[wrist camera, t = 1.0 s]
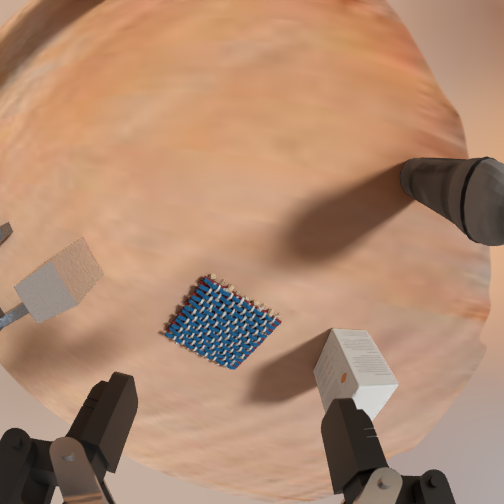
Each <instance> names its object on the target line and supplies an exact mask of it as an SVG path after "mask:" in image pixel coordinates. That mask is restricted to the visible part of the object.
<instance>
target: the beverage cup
mask: <svg viewBox="0 0 504 504" xmlns="http://www.w3.org/2000/svg"><path fill="white" fill-rule="evenodd" d="M400 181H401V186H402V188H403V190H404V191H405V192H406V193H407V194H408V195H410V196H411V197H413V198H414V199H415V200H417V201H418V202H420V203H422V204H424V205H425V206H427V207H429V208H430V209H432V210H433V211H435V212H437V213H438V214H440V215H441V216H443V217H445V218H446V219H448V220H449V221H451V222H452V223H454V224H455V225H456V226H457V227H458V228H459V229H460V230H461V231H462V232H463V233H464V234H466V235H467V236H468V238H469V239H470V240H472V241H474V242H475V243H481V244H484V245H487V246H499V245H504V164H503V163H501V162H498V161H497V160H495V159H494V158H490V157H483V158H472V159H468V160H466V159H449V158H413V159H409V160H408V161H407V162H406V163H405V164H404V166H403V167H402V170H401V173H400Z"/></svg>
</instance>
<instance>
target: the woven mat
mask: <svg viewBox="0 0 504 504" xmlns="http://www.w3.org/2000/svg"><path fill="white" fill-rule="evenodd" d="M203 279H204V280H203V281H204V282H203V281H202V280H201V281H200V282H199V283H200V284H201V285H200V286H197V288H196V292H197V293H196V292H193V293H192V295H193V296H192V297H190V298H189V299H188V301H186V302H185V304H186V306H185V307H184V306H183V307H182V309H181V311H179V313H178V314H180V315H178V316H176V317H175V320H173V321H172V323H173V324H172V325H171V324H170V325H169V328H168V327H167V328H166V331H170V332H169V333H167V332H166V334H165V335H166V336H167V337H170V338H173V339H172V340H173V341H174V340H175V341H176V344H177V343H180V344H181V345H184V346H185V345H186V346H187V347H188V348H187V350H189V349H193V350H192V351H197V353H196V354H197V355H198V353H199V354H201V355H203V357H206V356H207V360H209V359H212V360H211V361H215V360H216V361H217V362H218V364H217V365H219V364H220V365H221V364H224V365H222V366H223V367H224V366H227V367H226V369H228V368H229V369H236V368H237V367H238V366H239V365H240V364H241V363H242V362H243V361H244V360H245V359H246V358H247V357H248V356H249V355H250V354H251V353H252V352H253V351H254V350H255V349H256V348H257V347H258V346H259V345H260V344H261V343H262V342H263V341H264V340H265V339H264V338H266V337H267V335H270V334H271V333H272V332H273V330H274V329H275V328H276V327H277V326H278V325H279V324H280V323H281V321H280V320H279V319H278V318H279V316H280V315H281V314H280V313H278V314H277V315H275V316H273V314H274V312H275V311H274V310H273V309H269V310H268V311H267V310H263V309H264V308H265V306H266V305H265V304H262V305H261V306H260V307H257V305H259V304H258V300H253V301H252V302H251V303H250V302H249V301H248V300H249V297H247V296H244V297H240V296H239V295H240V294H241V293H240V292H239V291H236V292H234V291H233V289H234V286H233V285H228V287H226V286H223V284H224V282H225V280H224V279H222V281H221V282H220V283H217V282H215V281H214V280H215V279H216V274H211V275H209V277H207V276H205V277H204V278H203ZM224 290H225V291H224ZM227 296H228V297H227ZM230 312H231V313H230ZM201 319H202V320H201ZM174 334H175V335H174ZM180 339H181V340H180ZM246 344H247V345H246ZM191 345H192V346H191ZM243 359H244V360H243Z"/></svg>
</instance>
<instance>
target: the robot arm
mask: <svg viewBox="0 0 504 504" xmlns="http://www.w3.org/2000/svg"><path fill="white" fill-rule="evenodd" d="M137 408H138V398H137V393H136V387H135V382H134V378H133V376H131V375H127V374H123V373H119V372H114V373H113V374H112V376H111V378H110V380H109V382H105V381H100V382H99V383H98V384H96V385H95V386H94V387H92V389H91V391H90V393H89V395H88V396H87V399H86V400H85V402H84V404H83V406H82V407H81V409H80V411H79V413H78V415H77V417H76V418H75V420H74V422H73V424H72V426H71V428H70V430H69V432H68V433H67V435H66V436H65V437H61V438H58V439H56V440H55V441H44V440H38V439H33V438H30V437H29V435H28V434H27V433H26V432H25V431H24V430H22V429H19V428H11V429H9V430H7V431H6V432H5V433H4V435H3V436H2V438H1V440H0V504H50V503H51V499H52V496H53V493H54V490H55V487H56V486H59V487H60V491H61V493H62V496H63V500H64V502H63V504H116V503H115V501H114V499H113V497H112V495H111V493H110V491H109V489H108V487H107V484H106V482H105V480H104V476H105V474H106V471H109V472H112V473H115V471H116V468H117V465H118V462H119V460H120V457H121V454H122V451H123V448H124V445H125V442H126V439H127V437H128V434H129V431H130V428H131V426H132V423H133V420H134V418H135V415H136V412H137ZM321 433H322V438H323V443H324V447H325V452H326V457H327V461H328V466H329V471H330V476H331V481H332V486H333V491H334V495H335V494H341V493H343V494H344V499H343V501H342V502H341V504H456V503H455V500H454V497H453V495H452V492H451V489H450V486H449V483H448V481H447V478H446V476H445V475H444V474H443V473H442V472H441V471H439V470H429V471H427V472H425V473H424V474H423V475H422V476H403V475H400V474H399V473H398V472H397V471H396V470H394V469H392V468H389V466H388V464H387V462H386V459H385V456H384V453H383V451H382V448H381V445H380V442H379V440H378V437H376V436H377V434H376V432H375V429H374V426H373V424H372V421H371V419H370V417H369V416H368V415H367V414H366V412H365V411H364V410H363V409H357V407H356V405H355V402H354V400H353V399H352V398H335V399H333V400H332V402H331V404H330V406H329V408H328V410H327V412H326V414H325V416H324V418H323V420H322V424H321Z"/></svg>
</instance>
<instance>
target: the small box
mask: <svg viewBox="0 0 504 504" xmlns="http://www.w3.org/2000/svg"><path fill="white" fill-rule="evenodd" d="M313 373H314V376H315V380H316V383H317V386H318V390H319V393H320V396H321V400H322V403H323V406H324V410H325V413H326V412H327V410H328V408H329V406H330V404H331V402H332V400H333V399H335V398H352V399H353V400H354V402H355V405H356V407H357V409H363V410H364V411H365V412H366V414H367V415H368V416H369V417H370V419H371V421H372V420H373V419H374V418H375V416H376V415H377V414H378V412H379V411H380V410H381V409H382V407H383V406H384V404H385V403H386V402H387V400H388V399H389V398H390V396H391V395H392V393H393V392H394V391H395V389H396V388H397V386H398V385H399V383H398V381H397V380H396V378H395V376H394V374H393V373H392V371H391V369H390V368H389V366H388V364H387V363H386V361H385V359H384V358H383V356H382V354H381V353H380V351H379V349H378V348H377V346H376V344H375V343H374V341H373V340H372V338H371V336H370V335H369V333H368V332H367V331H366V330H350V329H336V328H332V329H331V331H330V334H329V336H328V339H327V341H326V343H325V346H324V348H323V350H322V353H321V355H320V357H319V359H318V362H317V364H316V366H315V368H314V370H313Z"/></svg>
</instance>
